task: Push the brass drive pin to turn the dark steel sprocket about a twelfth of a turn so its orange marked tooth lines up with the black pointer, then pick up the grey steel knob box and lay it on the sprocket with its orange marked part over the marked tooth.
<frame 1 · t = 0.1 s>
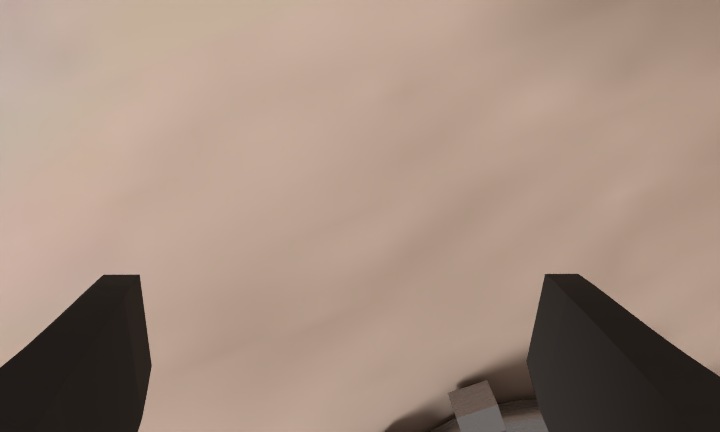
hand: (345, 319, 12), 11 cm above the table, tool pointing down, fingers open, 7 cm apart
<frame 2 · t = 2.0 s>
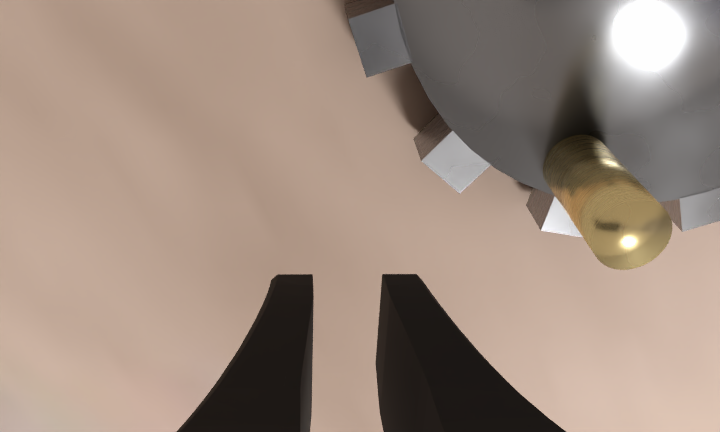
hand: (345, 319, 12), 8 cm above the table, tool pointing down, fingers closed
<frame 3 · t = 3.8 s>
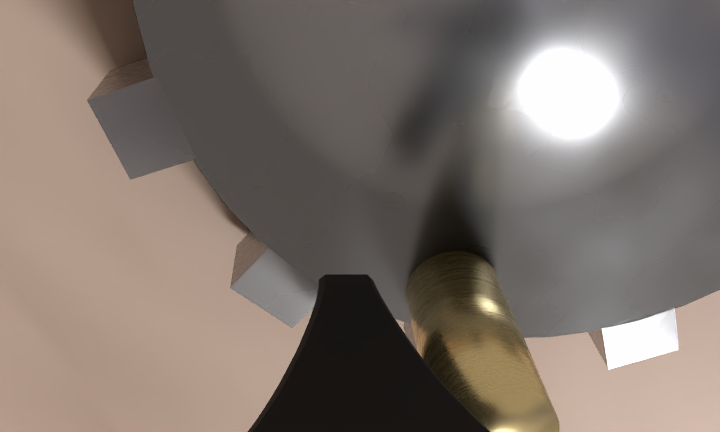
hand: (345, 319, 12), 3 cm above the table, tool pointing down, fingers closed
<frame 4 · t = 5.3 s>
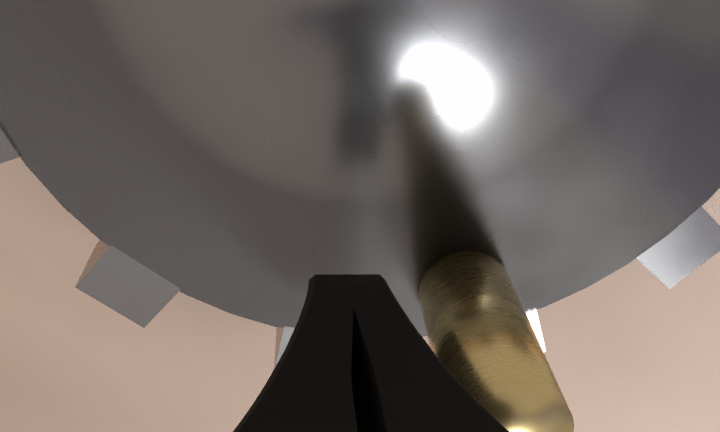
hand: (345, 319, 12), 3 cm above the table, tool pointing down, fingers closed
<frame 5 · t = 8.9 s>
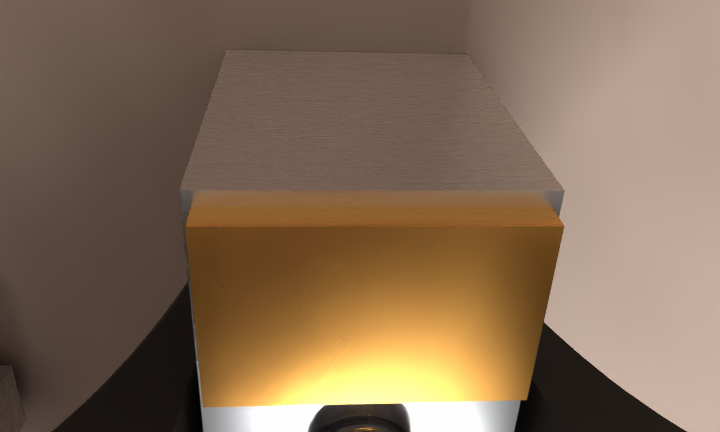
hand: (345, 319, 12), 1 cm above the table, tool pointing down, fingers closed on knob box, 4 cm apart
knob box: (340, 296, 14), on the table, touching gripper
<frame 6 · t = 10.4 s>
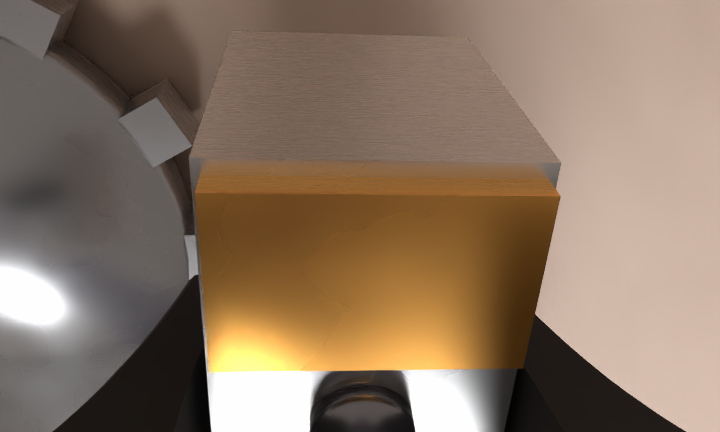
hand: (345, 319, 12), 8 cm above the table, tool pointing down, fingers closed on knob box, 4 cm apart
knob box: (341, 276, 14), point 7 cm above the table, touching gripper
when the fingers open (4 cm above the table, at t = 12.2 s): knob box stays where it is, resting on sprocket.
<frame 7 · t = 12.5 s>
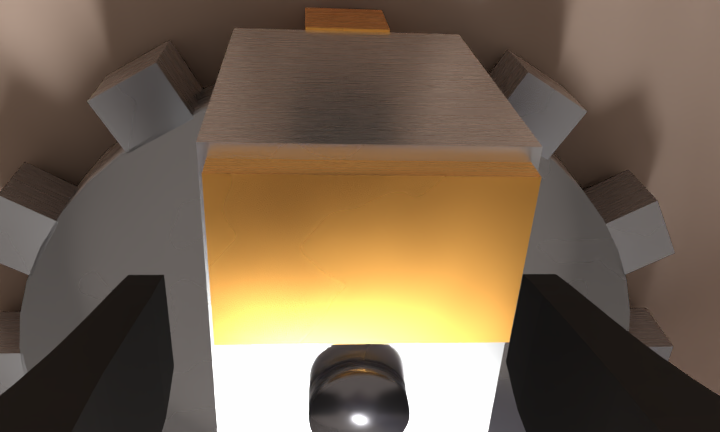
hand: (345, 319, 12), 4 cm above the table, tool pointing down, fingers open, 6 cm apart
knob box: (338, 266, 15), point 2 cm above the table, touching sprocket
sprocket: (336, 409, 15), point 3 cm above the table, hinge at 29.9°, touching knob box
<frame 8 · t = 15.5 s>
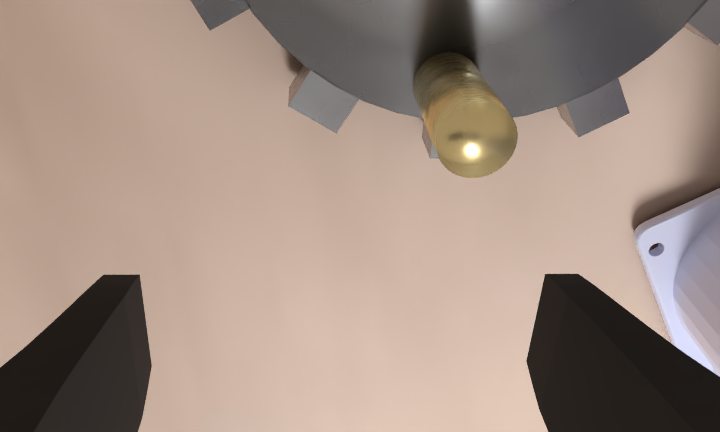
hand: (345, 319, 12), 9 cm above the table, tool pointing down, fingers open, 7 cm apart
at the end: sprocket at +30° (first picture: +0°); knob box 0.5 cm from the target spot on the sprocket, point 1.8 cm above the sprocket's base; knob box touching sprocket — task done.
